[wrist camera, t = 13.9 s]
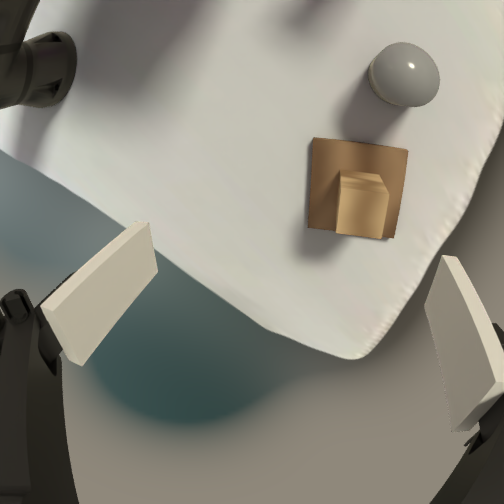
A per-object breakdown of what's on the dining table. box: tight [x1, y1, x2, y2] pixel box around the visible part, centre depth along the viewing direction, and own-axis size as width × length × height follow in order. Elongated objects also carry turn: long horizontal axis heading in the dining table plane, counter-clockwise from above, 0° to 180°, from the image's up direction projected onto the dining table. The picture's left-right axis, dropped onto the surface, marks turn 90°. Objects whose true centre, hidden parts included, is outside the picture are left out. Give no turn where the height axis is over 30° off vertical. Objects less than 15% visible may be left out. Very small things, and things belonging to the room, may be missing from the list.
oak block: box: [336, 170, 389, 239], centre depth 33 cm, size 5×5×8 cm
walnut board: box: [308, 138, 408, 238], centre depth 36 cm, size 12×12×1 cm
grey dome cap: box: [368, 42, 440, 107], centre depth 26 cm, size 7×7×7 cm
